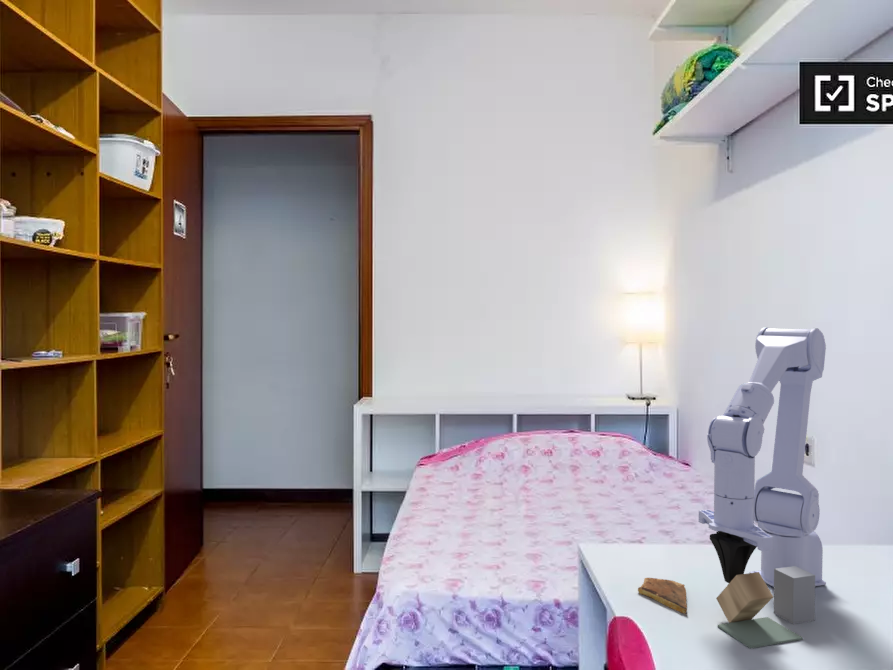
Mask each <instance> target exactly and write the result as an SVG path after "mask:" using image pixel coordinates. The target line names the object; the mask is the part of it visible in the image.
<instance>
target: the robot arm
mask: <svg viewBox="0 0 893 670" xmlns="http://www.w3.org/2000/svg"><path fill="white" fill-rule="evenodd" d="M826 349H827V345H826V341H825V336H824V334H823V332H822V331H821V330H820V329H819V328H815V327H813V328H777V327H776V328H773V327H771V328H770V327H766V326H765V327H762V328H761V329H760V330H759V331H758V333H757V335H756V338H755V354H756V358H757V361H756V363H755V365H754V368H753V371H752V373H751V376H750V379H749V381H748V382H743V383H741V384H740V385H739V386H738V387H737V389H736V391H735V393H734V395H733V396H732V399H731V400H730V402H729V403H728V405H727V407H726V408H725V410H724V412H723V414H722V415H718V416H717V417H714V418H713V419H712V420H711V421H710V422H709V427H708V431H707V434H706V437H707V439H706V440H707V445H708V448H709V450H710V460H711V463H712V464H714V465H713V466H714V468H713V470H714V473H713V474H714V477H713V479H714V481H713V485H714V486H713V510H711V509H701V510H698V522H699V524H703V525H705V524H706V525H708V529H710V530H712V531H714V532H716V533H711V534H709V540H710V542H711V543H712V546H713V547H714V549H715V551H716V554H717V556H718V560H719V563H720V567H721V572H722V575H723V576H722V577H723V578H724V579H723V580H724V582H725V583H728V584H729V583H730V582H731V581H732V580H733V578H734V577H735V576H736V575H740V574H745V571H746V567H747V564H748V562H749V560H750V558H751V556H752V554H754V551H756V548H757V550H759V551H760V569H759V570H752V571H749V573H755V572H759V573H760V575H761V577H762V578H763V580H764V582H765V583H766V585H769V586H771V587H773V588H774V569H776V568H784V567H791V566H796V567H798V568H801V569H803V570H805V571H807V572H809V573H811V574H814V575H815V587H819V586H825V585H827V582H826V581H825V580H823V553H824V552H823V544H822V541H821V538H820V536H819V535H818V533H817V532H816V530H817V527H818V524H819V522H820V521H819V520H820V510H821V509H820V504H819V503H820V502H819V500H820V499H819V498H820V493H819V490H818V488H816V486H815V485H814V484H812V483H811V482H810V481H809V480H808V478H806V477H805V476H804V473H803V472H804V460H805V451H806V443H807V442H806V441H807V435H808V434H807V432H808V423H809V421H808V420H809V411H810V405H811V404H810V402H811V393H812V388H813V387H812V386H813V383H814V381H817V380H819V379H821V378H823V373H824V369H825V360H826V359H825V358H826ZM778 383H780V388H779V389H780V391H779V397H778V399H779V400H778V406H777V407H778V408H777V416H776V424H775V425H776V427H775V436H774V437H775V438H774V446H773V456H772V464H771V470H770V472H768V473H767V474H765V475H763V476H761V477H760V478H758V479H757V480H756V482H755V473H756V472H755V471H756V470H755V469H756V468H755V467H756V463H755V462H756V456H757V455H758V453H759V452H760V451H761V448H762V444H763V437H764V436H763V435H764V434H765V426H764V423H765V422H766V420H767V418H768V416H769V414H770V412H771V410H772V408H773V406H774V404H775V397H774V395H773V392H772V391H773V390H774V389H775V387H776V386H777V384H778ZM775 489H780V490H781V489H783V490H787V491H793V492H796V493H792V492H787V491H786V492H785V491H780V490H775ZM797 493H799V494H797ZM755 523H757V525H756V524H755Z"/></svg>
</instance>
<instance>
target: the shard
mask: <svg viewBox="0 0 893 670" xmlns="http://www.w3.org/2000/svg"><path fill="white" fill-rule="evenodd" d="M643 579H644V580H643V582H642V585H641V586H638V588H637V592H638V594H640V595H643V596H646V597H649V598H651V599H653V600H655V601H657V602H658V603H660V604H662V605H664V606H666V607H667V608H670V609H673V610H674V611H676V612H679V613H682V614H685V615H686V614H687V611H688V605H687V590H686V587H685V584H682V583H680V582H677V581H675V580H671V579H663V578H656V577H655V578H654V577H644V578H643Z"/></svg>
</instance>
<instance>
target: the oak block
mask: <svg viewBox="0 0 893 670" xmlns="http://www.w3.org/2000/svg"><path fill="white" fill-rule="evenodd" d="M715 599H716V601H717V602H718V604H719V606H720V608H721V611H722V612H723V614H724V616H725V618H726V620H727V623H732V622H738V621H745V620H751V619H755V617H756V616H757V615H758V614H759V613H760V611H762V610H763V608H764V607H766V605H768V603H769V602H770V601H771V600H773V599H774V594H772V592H771V590H770V589H769V586H768V584H767V583H765V582H764V580H763V578H762V577H761V575H760V573H759V572H755V573H750V572H749V573H744V574H740V575H736V576H735V577H734V578H733V580H732V581H731V582H730V583H728V585H727V586H725V588H724V589H723V590H722V591H721V592H720V593H719V594H718V596H717V597H716V598H715Z"/></svg>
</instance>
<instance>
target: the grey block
mask: <svg viewBox="0 0 893 670" xmlns="http://www.w3.org/2000/svg"><path fill="white" fill-rule="evenodd" d="M815 610H816V586H815V575H814V574H811V573H809V572H807V571H805V570H803V569H801V568H798V567H796V566H791V567H784V568H776V569H774V587H773V614H775V615H776V616H778V617H780V618H781V619H784V620H785V621H787V622H788V623H791V624H792V625H797V624H802V623H808V622H813V621H815V620H816V615H815Z"/></svg>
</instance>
